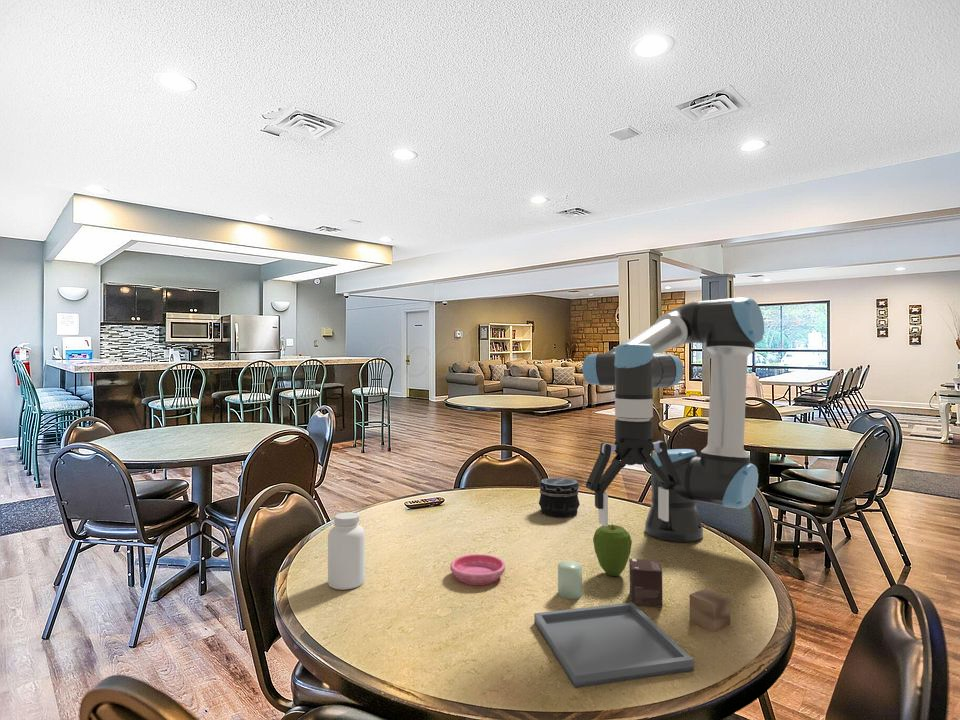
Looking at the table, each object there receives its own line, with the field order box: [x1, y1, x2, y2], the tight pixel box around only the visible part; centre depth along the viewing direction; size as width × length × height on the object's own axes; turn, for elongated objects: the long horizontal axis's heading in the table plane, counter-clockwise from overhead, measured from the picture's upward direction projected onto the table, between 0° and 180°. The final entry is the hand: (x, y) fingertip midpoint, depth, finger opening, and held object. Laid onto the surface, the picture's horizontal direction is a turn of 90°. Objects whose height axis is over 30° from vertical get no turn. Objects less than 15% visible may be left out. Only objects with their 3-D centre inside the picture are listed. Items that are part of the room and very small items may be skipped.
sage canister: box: [557, 560, 583, 600], centre depth 113 cm, size 5×5×6 cm
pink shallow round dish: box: [449, 553, 506, 586], centre depth 122 cm, size 12×12×3 cm
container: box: [538, 477, 581, 518], centre depth 170 cm, size 13×13×10 cm
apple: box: [592, 523, 633, 577], centre depth 122 cm, size 9×8×12 cm
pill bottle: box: [327, 511, 366, 590], centre depth 119 cm, size 8×8×15 cm
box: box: [628, 558, 663, 608], centre depth 110 cm, size 6×6×7 cm
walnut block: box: [689, 587, 731, 633], centre depth 101 cm, size 5×5×5 cm
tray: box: [533, 601, 695, 688], centre depth 93 cm, size 20×20×2 cm
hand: (633, 522), depth 111 cm, fingers open, 13 cm apart
